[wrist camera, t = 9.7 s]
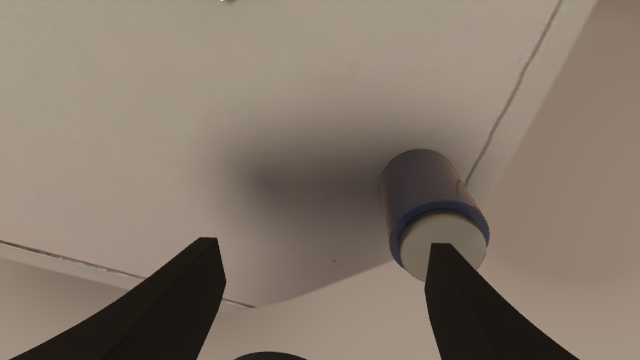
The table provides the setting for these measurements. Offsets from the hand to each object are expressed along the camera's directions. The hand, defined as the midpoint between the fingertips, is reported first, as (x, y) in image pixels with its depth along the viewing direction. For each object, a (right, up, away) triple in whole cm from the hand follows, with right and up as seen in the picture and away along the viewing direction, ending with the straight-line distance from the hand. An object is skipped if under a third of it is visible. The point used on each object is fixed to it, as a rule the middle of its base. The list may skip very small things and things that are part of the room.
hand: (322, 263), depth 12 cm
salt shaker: (+6, +3, +9) cm, 11 cm away
